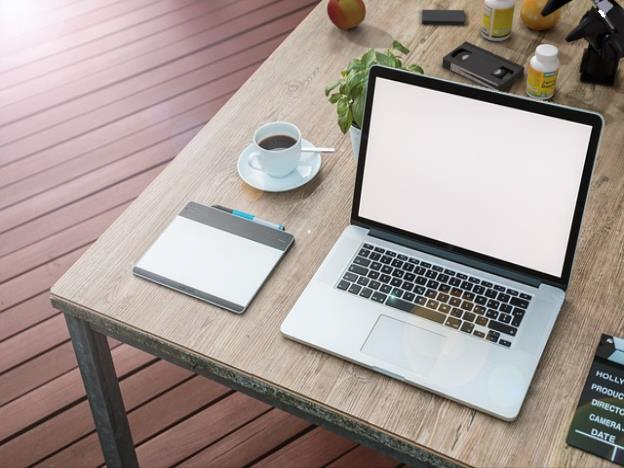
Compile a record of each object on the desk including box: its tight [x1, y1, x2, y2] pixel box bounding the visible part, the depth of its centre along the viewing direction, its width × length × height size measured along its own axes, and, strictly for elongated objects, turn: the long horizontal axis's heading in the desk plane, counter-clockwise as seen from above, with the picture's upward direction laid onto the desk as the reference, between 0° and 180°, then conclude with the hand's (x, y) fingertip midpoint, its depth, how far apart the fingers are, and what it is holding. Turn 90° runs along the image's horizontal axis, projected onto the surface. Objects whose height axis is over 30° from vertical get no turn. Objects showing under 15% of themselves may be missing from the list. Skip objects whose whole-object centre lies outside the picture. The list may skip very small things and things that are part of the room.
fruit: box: [519, 0, 562, 31], centre depth 176 cm, size 8×8×8 cm
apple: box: [326, 0, 367, 31], centre depth 178 cm, size 8×8×8 cm
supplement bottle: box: [525, 43, 561, 101], centre depth 159 cm, size 5×5×10 cm
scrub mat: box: [421, 9, 466, 26], centre depth 182 cm, size 9×5×1 cm, turn 84°
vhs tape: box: [441, 40, 526, 92], centre depth 167 cm, size 14×8×2 cm, turn 46°
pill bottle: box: [480, 0, 516, 42], centre depth 173 cm, size 6×6×11 cm
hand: (553, 28), depth 154 cm, fingers open, 9 cm apart
